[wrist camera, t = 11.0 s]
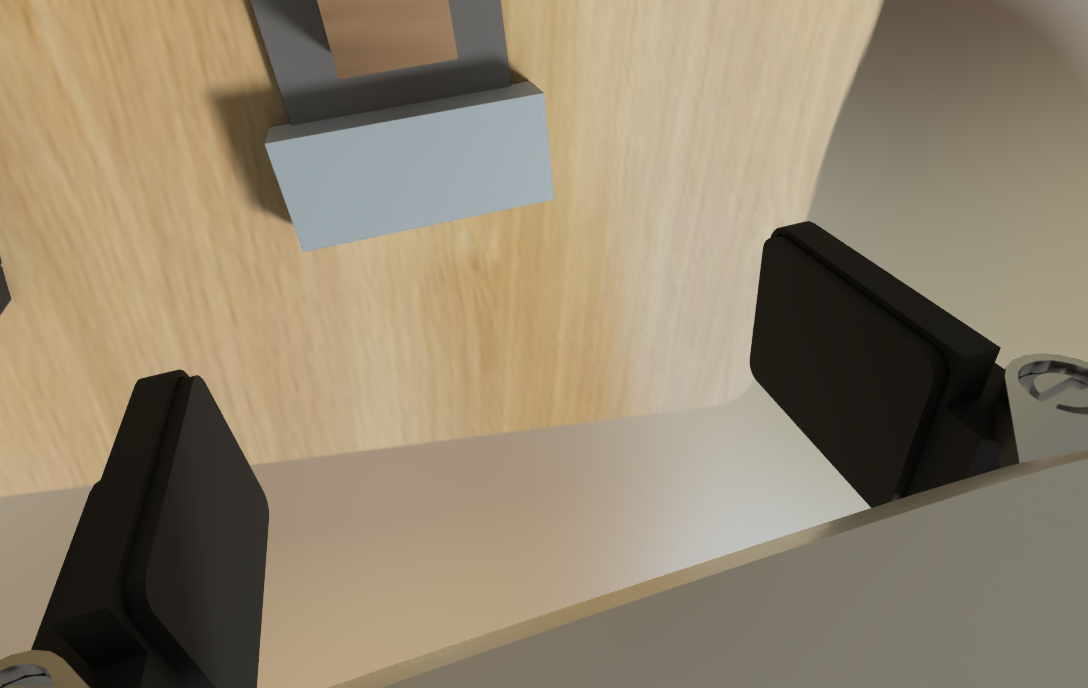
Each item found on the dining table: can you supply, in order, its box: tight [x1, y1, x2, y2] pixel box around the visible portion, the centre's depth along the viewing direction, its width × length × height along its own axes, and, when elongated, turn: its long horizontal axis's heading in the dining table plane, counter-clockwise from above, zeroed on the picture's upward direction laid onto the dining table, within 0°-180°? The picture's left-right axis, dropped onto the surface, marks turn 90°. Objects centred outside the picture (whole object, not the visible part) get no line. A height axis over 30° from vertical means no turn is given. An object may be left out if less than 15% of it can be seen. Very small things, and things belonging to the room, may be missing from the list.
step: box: [265, 81, 554, 252], centre depth 30 cm, size 5×12×2 cm, turn 95°
